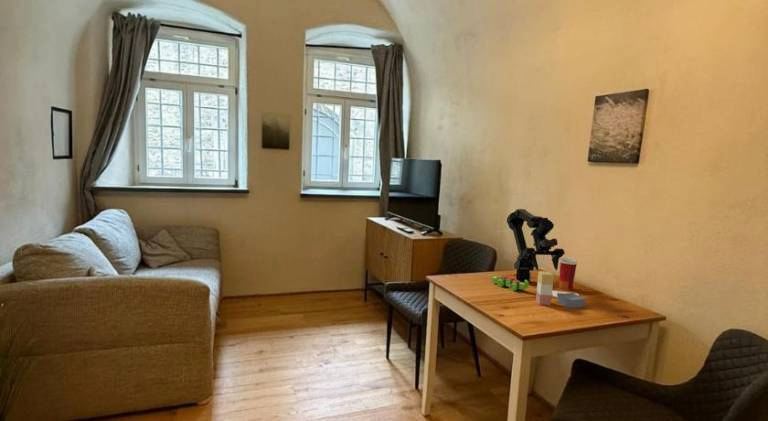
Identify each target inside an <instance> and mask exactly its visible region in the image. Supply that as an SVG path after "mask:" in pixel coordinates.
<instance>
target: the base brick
mask: <svg viewBox="0 0 768 421" xmlns="http://www.w3.org/2000/svg"><path fill="white" fill-rule="evenodd" d="M576 294H577V293H575V294H574V293H573V292H567V293H564V294H558V297H557V301H556V302H557V303H559V304H561V305H563V306H564V307H567V308H568V309H572V308H573V309H574V308H575V309H577V308H585V305H586V298H584V297H582V296H580V295H579V294H578V295H579V296H578V295H576Z"/></svg>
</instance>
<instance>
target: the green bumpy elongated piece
mask: <svg viewBox="0 0 768 421" xmlns="http://www.w3.org/2000/svg"><path fill="white" fill-rule="evenodd" d="M490 280H491V282H493V283H496V285H497V287H499V288H502V287H504V286H506V287H508V288H509V290H510V291H511V292H516V291H517V290H523V291H524V290H526V289H527V288H528V287H529V286H530V281H529V282H528V281H527V280H525V283H524V282H520V281H519V280H517V279H516V278H514V277H511V276H508V275H507V276H506V275H504V274H503V275H498V276H495V275H494V276H491V277H490Z"/></svg>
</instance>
